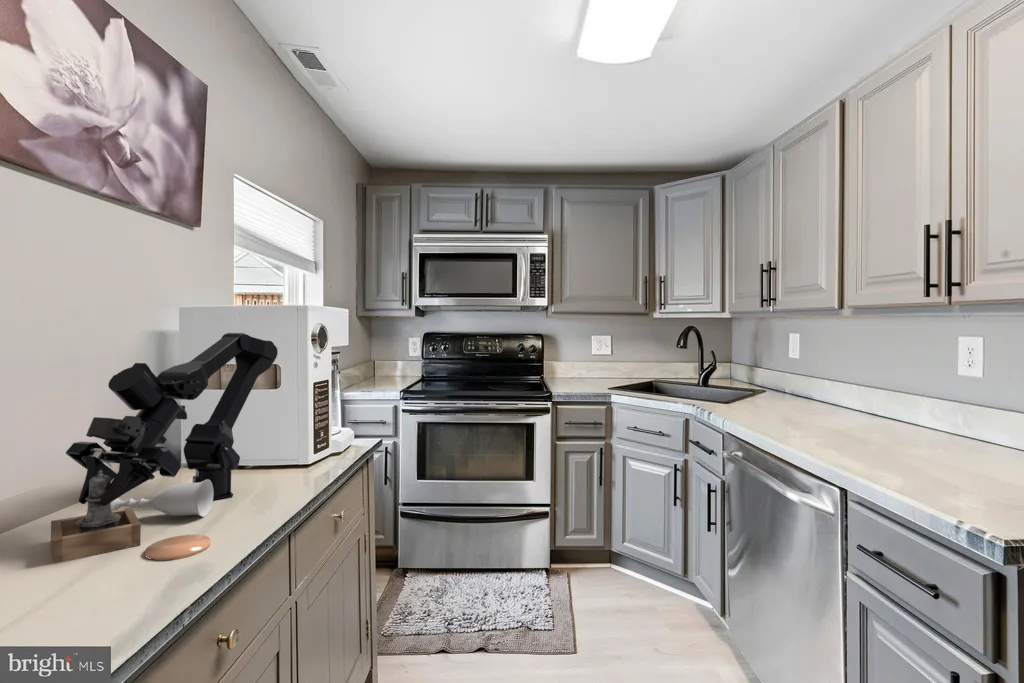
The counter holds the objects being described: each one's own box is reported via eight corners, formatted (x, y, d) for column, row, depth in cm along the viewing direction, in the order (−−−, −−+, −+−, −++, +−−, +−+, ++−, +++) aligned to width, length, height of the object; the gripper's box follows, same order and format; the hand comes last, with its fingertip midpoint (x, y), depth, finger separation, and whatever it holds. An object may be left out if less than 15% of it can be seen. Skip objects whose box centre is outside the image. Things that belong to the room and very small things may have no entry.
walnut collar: (131, 526, 94) (131, 507, 94) (140, 545, 86) (140, 524, 86) (50, 541, 86) (50, 521, 86) (51, 563, 78) (52, 540, 78)
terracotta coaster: (203, 533, 91) (203, 530, 91) (216, 550, 84) (216, 546, 84) (141, 547, 85) (141, 543, 85) (149, 565, 78) (150, 561, 78)
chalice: (98, 533, 96) (202, 524, 99) (86, 506, 93) (194, 498, 95) (119, 504, 102) (216, 496, 105) (107, 478, 99) (208, 471, 102)
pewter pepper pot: (95, 550, 83) (97, 476, 82) (65, 545, 84) (67, 472, 84) (128, 536, 88) (131, 467, 88) (100, 532, 90) (103, 463, 89)
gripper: (76, 396, 91) (5, 474, 81) (168, 400, 88) (106, 483, 77) (117, 432, 99) (57, 508, 88) (203, 437, 96) (151, 517, 85)
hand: (91, 503), depth 85 cm, fingers closed on pewter pepper pot, 4 cm apart
